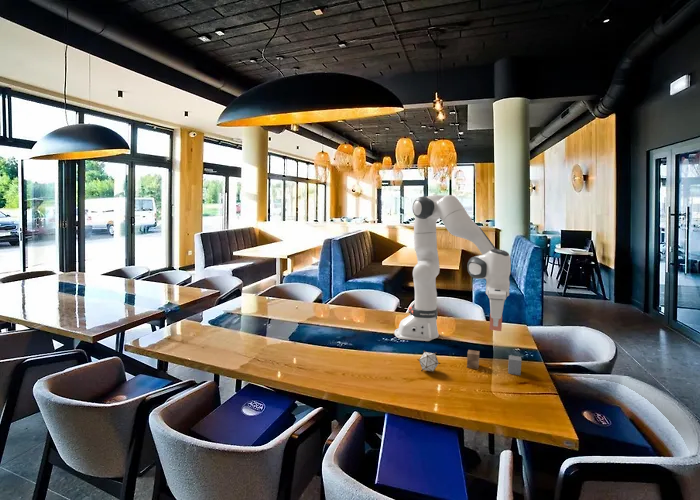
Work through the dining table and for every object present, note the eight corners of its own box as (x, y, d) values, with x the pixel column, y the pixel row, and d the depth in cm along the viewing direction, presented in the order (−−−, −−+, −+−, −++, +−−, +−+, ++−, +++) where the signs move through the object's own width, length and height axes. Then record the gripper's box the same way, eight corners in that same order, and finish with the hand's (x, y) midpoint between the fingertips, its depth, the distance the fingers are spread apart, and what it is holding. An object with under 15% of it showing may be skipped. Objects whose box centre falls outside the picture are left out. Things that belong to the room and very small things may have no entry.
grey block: (508, 373, 157) (509, 359, 156) (508, 369, 161) (508, 355, 161) (520, 375, 155) (521, 360, 155) (520, 370, 160) (520, 356, 159)
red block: (489, 329, 158) (490, 315, 157) (489, 326, 162) (490, 312, 161) (501, 331, 156) (502, 316, 156) (501, 327, 160) (502, 313, 160)
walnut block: (466, 367, 163) (467, 353, 162) (467, 363, 167) (468, 349, 166) (478, 369, 161) (478, 355, 160) (478, 364, 165) (479, 351, 165)
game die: (423, 378, 160) (413, 355, 164) (442, 371, 160) (432, 347, 164) (424, 376, 152) (414, 351, 156) (445, 368, 152) (434, 344, 156)
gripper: (489, 284, 168) (488, 316, 170) (488, 294, 149) (486, 330, 151) (505, 285, 166) (503, 317, 167) (506, 296, 147) (504, 332, 148)
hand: (495, 323), depth 159 cm, fingers closed on red block, 4 cm apart
